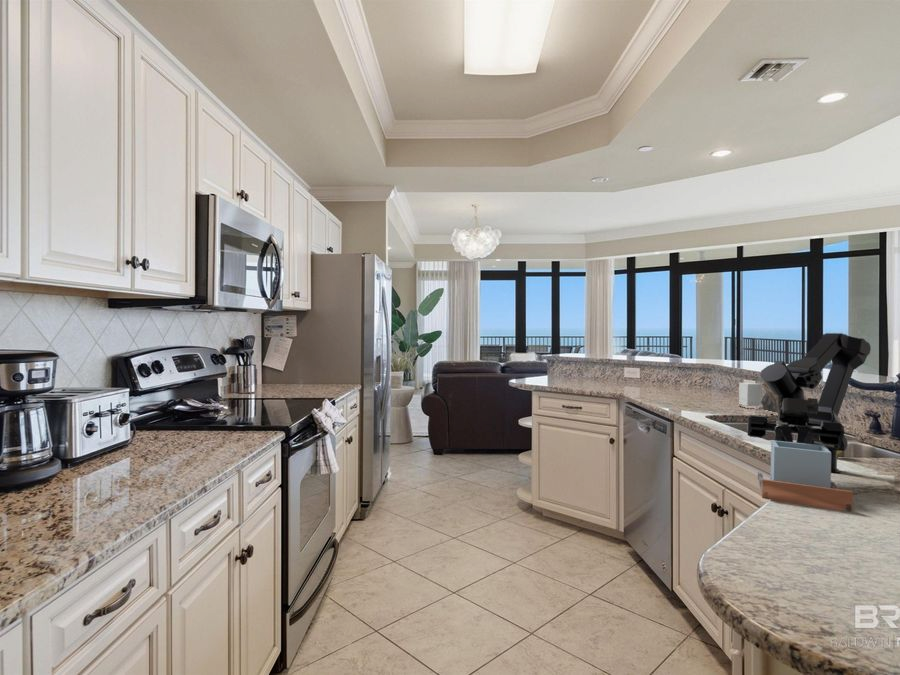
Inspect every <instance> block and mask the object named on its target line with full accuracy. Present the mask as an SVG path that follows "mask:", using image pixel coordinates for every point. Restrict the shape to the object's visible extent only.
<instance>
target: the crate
mask: <svg viewBox="0 0 900 675" xmlns="http://www.w3.org/2000/svg"><path fill="white" fill-rule="evenodd" d="M770 441H771V442H770V474H769V477H770V479H769V480H773V481H780V482H788V483H795V484H803V485H810V486H818V487H825V488H831V482H832V476H831V475H832V473H831V452H830V451H829V450H828V449H827V448H826V447H825V446H824V445H814V444H804V443H796V442H794V441H793V442H784V441H775V439H774V440H773V439H771V440H770Z"/></svg>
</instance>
